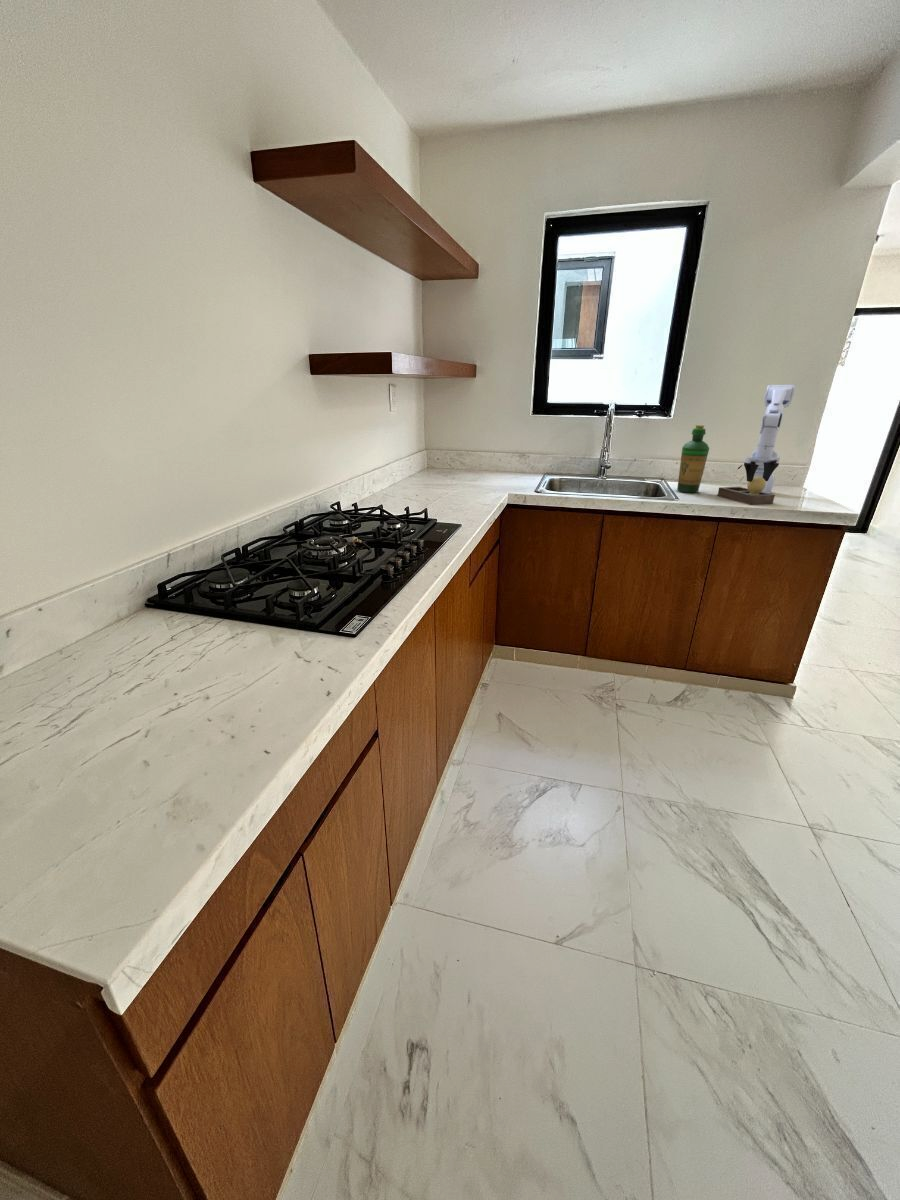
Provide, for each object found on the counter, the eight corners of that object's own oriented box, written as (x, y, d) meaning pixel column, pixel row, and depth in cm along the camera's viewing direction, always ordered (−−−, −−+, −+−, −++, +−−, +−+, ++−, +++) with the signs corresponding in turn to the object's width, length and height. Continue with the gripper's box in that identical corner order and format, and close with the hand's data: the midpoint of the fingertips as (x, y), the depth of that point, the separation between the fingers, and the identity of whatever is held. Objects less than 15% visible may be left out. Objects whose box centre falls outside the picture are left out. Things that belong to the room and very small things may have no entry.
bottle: (674, 492, 220) (686, 425, 209) (674, 488, 229) (686, 424, 218) (701, 494, 216) (714, 426, 206) (699, 490, 226) (713, 425, 215)
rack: (737, 494, 217) (739, 486, 216) (772, 503, 200) (775, 494, 199) (717, 495, 215) (719, 487, 213) (751, 504, 198) (753, 495, 196)
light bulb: (756, 500, 206) (762, 475, 202) (764, 503, 200) (770, 478, 196) (740, 499, 207) (746, 475, 203) (747, 502, 201) (753, 477, 197)
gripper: (758, 447, 190) (749, 483, 195) (789, 446, 193) (780, 482, 198) (744, 445, 196) (736, 480, 201) (774, 444, 199) (766, 479, 205)
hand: (757, 481), depth 200 cm, fingers open, 7 cm apart
